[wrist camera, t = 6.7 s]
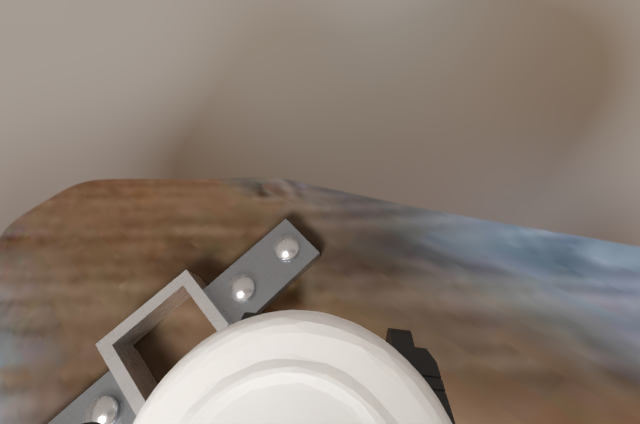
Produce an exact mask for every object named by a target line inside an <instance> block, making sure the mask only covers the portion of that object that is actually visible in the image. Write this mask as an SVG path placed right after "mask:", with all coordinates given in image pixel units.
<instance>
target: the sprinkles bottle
mask: <svg viewBox="0 0 640 424" xmlns="http://www.w3.org/2000/svg"><path fill="white" fill-rule="evenodd" d="M133 424H452V422H451V420H450V418H449V417H448V415H447V413H446V411H445V409H444V408H443V406H442V404H441V402H440V400H439V399H438V397H437V396H436V394H435V393H434V392H433V390H432V389H431V387H430V386H429V384H428V383H427V382H426V381H425V379H424V378H423V377H422V376H421V374H420V373H419V372H418V371H417V370H416V369H415V368H414V367H413V366H412V365H411V364H410V362H409V361H408V360H407V359H406V358H404V357H403V356H402V355H401V354H400V353H399V352H398V351H397V350H396V349H395V348H394V347H392V346H391V345H390V344H388V343H387V342H386V341H384V340H383V339H382V338H380V337H379V336H377V335H376V334H374V333H372V332H370V331H369V330H367V329H365V328H363V327H362V326H360V325H358V324H355V323H353V322H351V321H349V320H346V319H343V318H340V317H337V316H334V315H331V314H326V313H321V312H317V311H306V310H285V311H277V312H270V313H264V314H260V315H256V316H253V317H250V318H247V319H244V320H241V321H238V322H236V323H234V324H232V325H230V326H228V327H226V328H224V329H222V330H220V331H218V332H216V333H214V334H213V335H211V336H210V337H208V338H206V339H205V340H203V341H202V342H201V343H199V344H198V345H197V346H196V347H194V348H193V349H192V350H191V351H190V352H189V353H187V354H186V355H185V356H184V357H183V358H182V359H181V360H179V362H178V363H177V364H176V365H175V366H174V367H173V368H172V369H171V370H170V371H169V372H168V373H167V374H166V375H165V376H164V377H163V379H162V380H161V381H160V382H159V384H158V385H157V386H156V388H155V389H154V390H153V392H152V393H151V394H150V396H149V397H148V399H147V400H146V402H145V403H144V405H143V406H142V408H141V409H140V411H139V413H138V414H137V416H136V418H135V420H134V422H133Z"/></svg>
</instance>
